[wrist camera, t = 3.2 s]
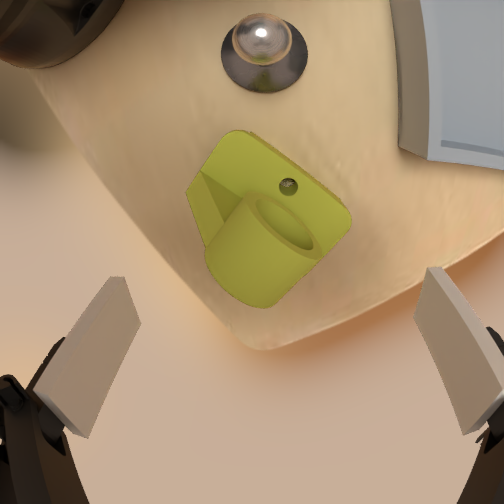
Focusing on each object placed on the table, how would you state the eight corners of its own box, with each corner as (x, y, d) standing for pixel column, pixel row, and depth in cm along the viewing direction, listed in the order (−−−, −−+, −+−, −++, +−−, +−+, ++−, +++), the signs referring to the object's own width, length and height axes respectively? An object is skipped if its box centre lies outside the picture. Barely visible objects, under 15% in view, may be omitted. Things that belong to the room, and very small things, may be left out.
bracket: (351, 208, 23) (393, 279, 14) (304, 259, 25) (317, 345, 17) (236, 121, 20) (208, 139, 11) (193, 183, 23) (145, 242, 14)
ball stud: (225, 95, 19) (204, 93, 13) (219, 22, 16) (196, -8, 10) (309, 91, 18) (326, 87, 12) (303, 17, 16) (316, -16, 9)
